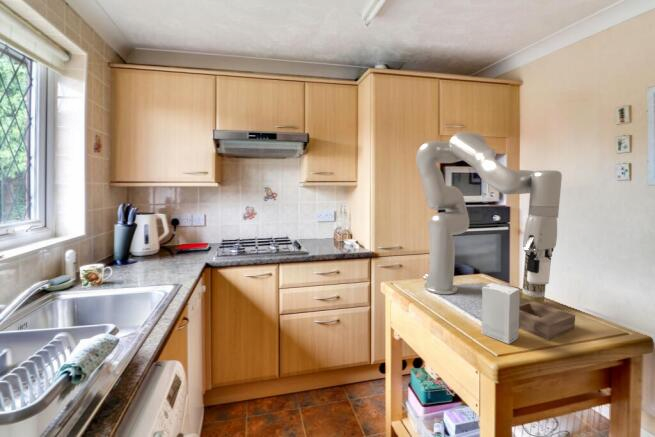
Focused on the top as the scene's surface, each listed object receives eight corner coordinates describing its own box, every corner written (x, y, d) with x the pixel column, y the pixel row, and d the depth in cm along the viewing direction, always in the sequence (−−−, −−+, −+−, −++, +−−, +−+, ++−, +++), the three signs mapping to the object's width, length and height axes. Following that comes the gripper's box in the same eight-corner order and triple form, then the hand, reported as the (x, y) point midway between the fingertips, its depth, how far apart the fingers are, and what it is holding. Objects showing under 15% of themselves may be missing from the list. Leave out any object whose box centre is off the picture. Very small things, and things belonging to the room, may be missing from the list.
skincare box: (518, 339, 93) (522, 289, 91) (508, 345, 89) (512, 293, 87) (489, 327, 100) (492, 281, 98) (479, 333, 96) (482, 285, 94)
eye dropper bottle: (547, 286, 97) (551, 247, 95) (525, 282, 100) (529, 244, 99) (549, 282, 100) (552, 244, 99) (527, 279, 104) (530, 242, 102)
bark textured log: (547, 309, 113) (553, 238, 110) (525, 307, 114) (531, 238, 111) (538, 301, 120) (544, 235, 116) (518, 300, 121) (523, 234, 118)
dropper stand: (495, 318, 106) (496, 305, 105) (521, 309, 112) (522, 297, 112) (547, 340, 92) (549, 325, 91) (573, 329, 98) (575, 315, 98)
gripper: (546, 209, 105) (541, 264, 107) (513, 212, 97) (509, 271, 99) (572, 211, 98) (567, 269, 100) (539, 215, 90) (534, 278, 93)
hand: (538, 270), depth 100 cm, fingers closed on eye dropper bottle, 5 cm apart
